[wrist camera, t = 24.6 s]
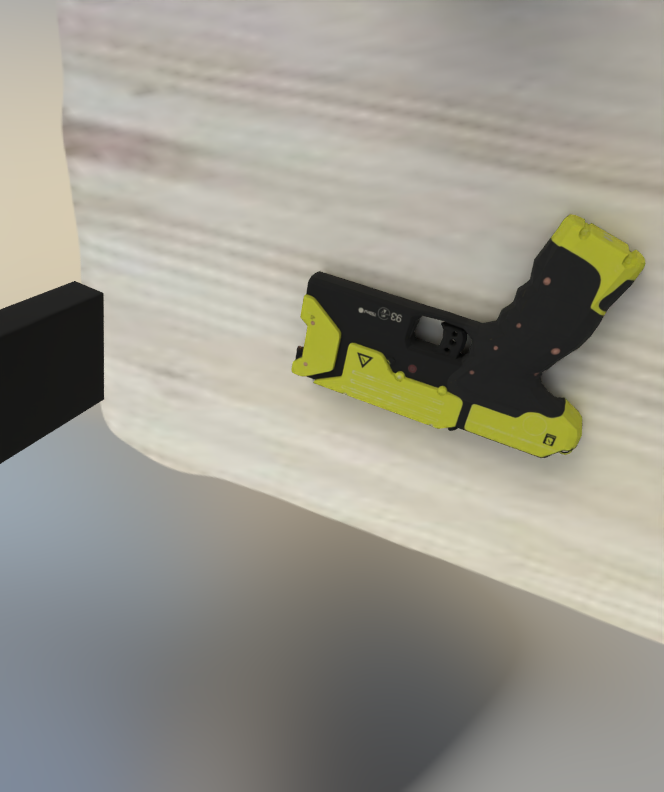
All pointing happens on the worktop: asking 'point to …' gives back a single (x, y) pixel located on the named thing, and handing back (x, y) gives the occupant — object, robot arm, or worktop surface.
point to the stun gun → (472, 344)
